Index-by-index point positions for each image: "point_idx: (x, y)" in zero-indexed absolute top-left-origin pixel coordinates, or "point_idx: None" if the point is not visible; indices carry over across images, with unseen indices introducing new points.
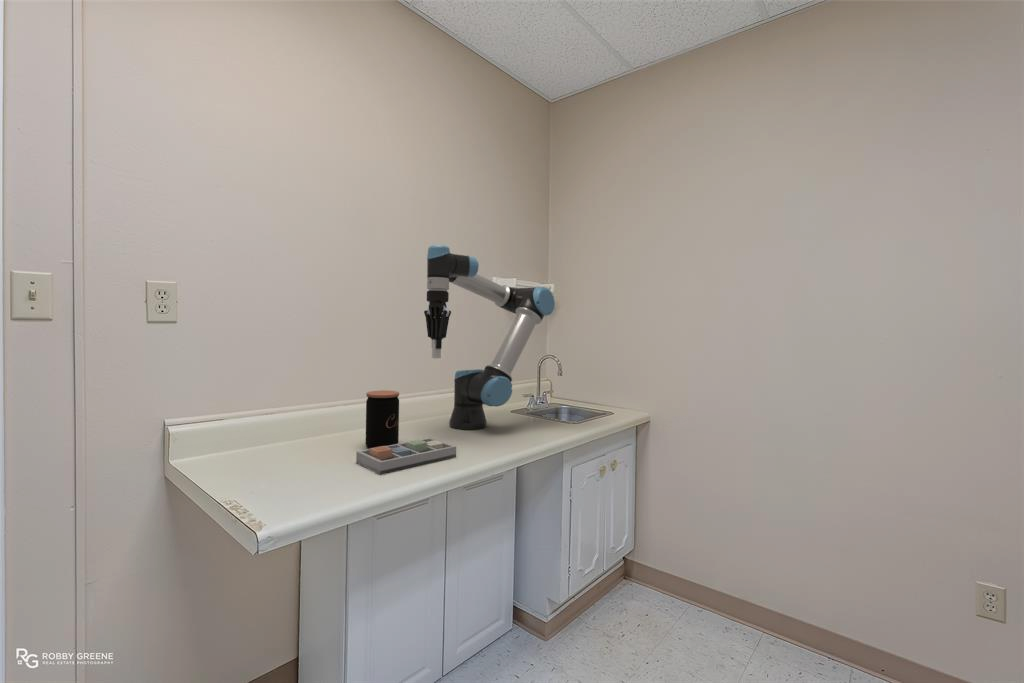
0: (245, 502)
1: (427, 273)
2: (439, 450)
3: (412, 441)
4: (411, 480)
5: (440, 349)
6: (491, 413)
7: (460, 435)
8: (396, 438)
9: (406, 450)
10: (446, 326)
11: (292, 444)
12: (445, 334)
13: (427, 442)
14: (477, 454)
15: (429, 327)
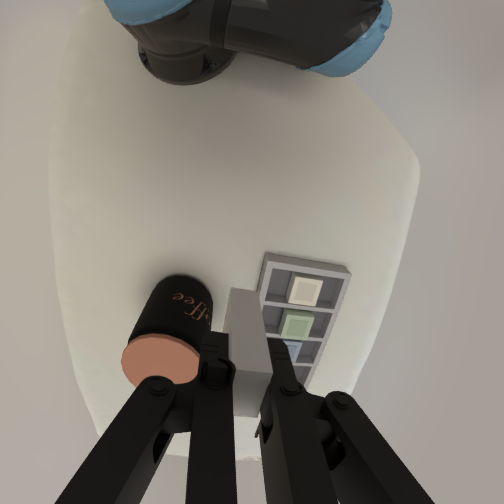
0: (259, 454)
1: None
2: (339, 308)
3: (291, 332)
4: (348, 366)
5: (262, 325)
6: None
7: (242, 125)
8: (209, 301)
9: (300, 348)
10: (399, 477)
11: (88, 367)
12: (360, 419)
13: (297, 298)
14: (365, 228)
15: (143, 488)
